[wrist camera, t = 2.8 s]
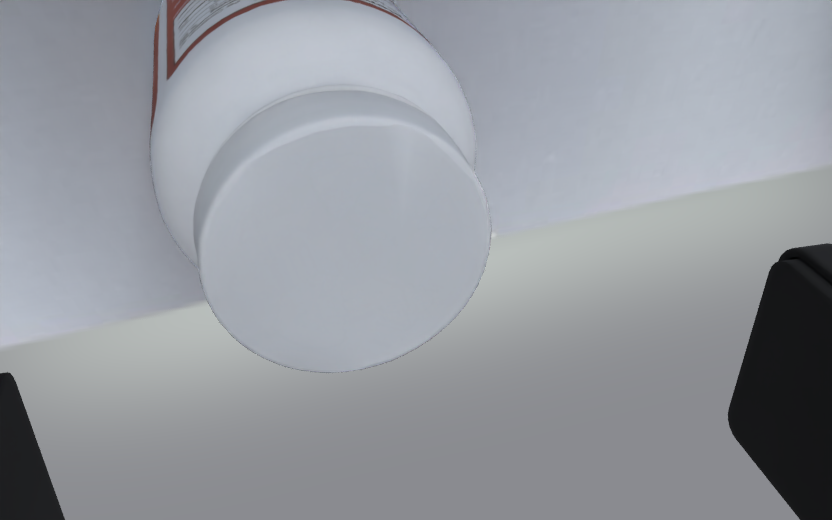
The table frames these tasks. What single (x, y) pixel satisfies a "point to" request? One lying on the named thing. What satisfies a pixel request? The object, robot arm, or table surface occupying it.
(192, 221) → the pill bottle
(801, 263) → the robot arm
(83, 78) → the table surface
